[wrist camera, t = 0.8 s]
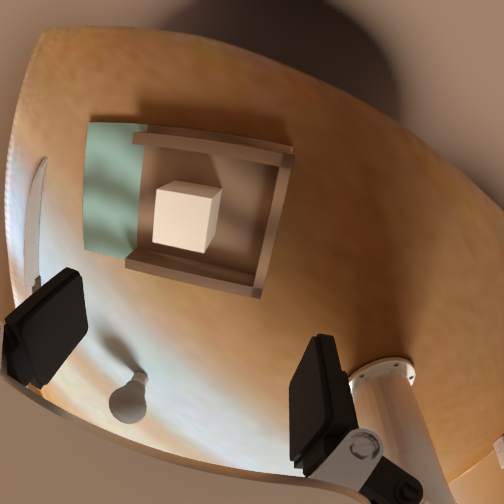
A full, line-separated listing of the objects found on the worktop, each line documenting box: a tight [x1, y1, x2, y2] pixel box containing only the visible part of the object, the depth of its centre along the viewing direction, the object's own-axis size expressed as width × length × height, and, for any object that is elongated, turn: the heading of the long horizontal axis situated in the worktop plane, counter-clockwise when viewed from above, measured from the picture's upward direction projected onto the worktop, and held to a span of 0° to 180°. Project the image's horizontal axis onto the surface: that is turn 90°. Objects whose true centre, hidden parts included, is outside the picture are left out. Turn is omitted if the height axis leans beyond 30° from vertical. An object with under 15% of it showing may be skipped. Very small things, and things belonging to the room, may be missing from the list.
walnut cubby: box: [83, 122, 294, 299], centre depth 28 cm, size 16×23×4 cm
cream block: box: [153, 180, 222, 253], centre depth 26 cm, size 5×5×5 cm
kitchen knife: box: [24, 156, 48, 293], centre depth 32 cm, size 4×1×30 cm
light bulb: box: [109, 372, 148, 424], centre depth 37 cm, size 6×6×10 cm
